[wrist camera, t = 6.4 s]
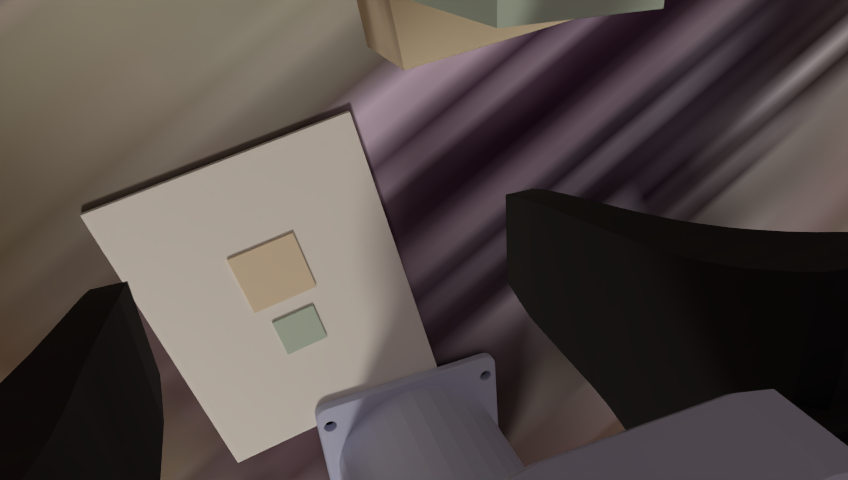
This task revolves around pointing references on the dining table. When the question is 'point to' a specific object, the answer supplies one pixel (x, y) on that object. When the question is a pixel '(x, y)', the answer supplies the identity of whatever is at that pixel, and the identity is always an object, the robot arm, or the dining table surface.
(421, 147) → the dining table surface
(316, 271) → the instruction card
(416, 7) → the beech base brick
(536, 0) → the sage brick
